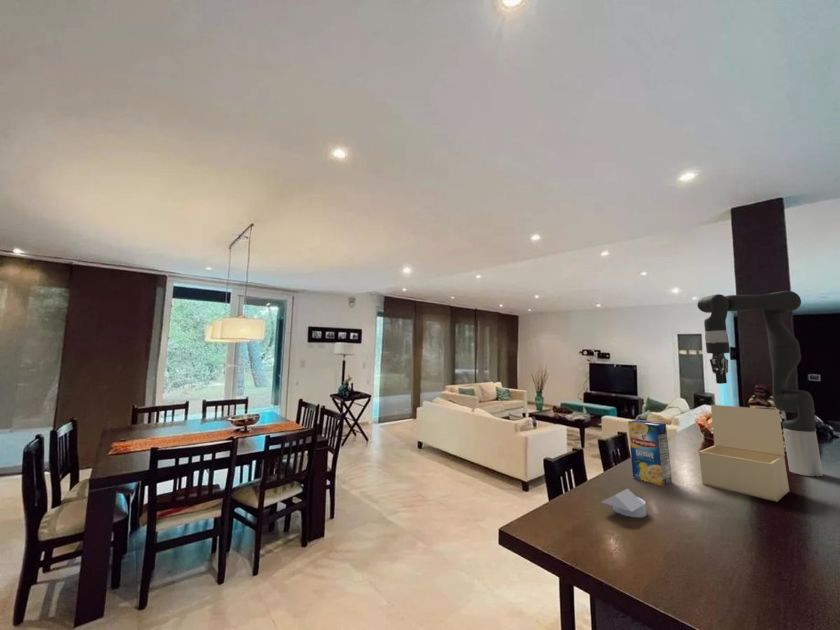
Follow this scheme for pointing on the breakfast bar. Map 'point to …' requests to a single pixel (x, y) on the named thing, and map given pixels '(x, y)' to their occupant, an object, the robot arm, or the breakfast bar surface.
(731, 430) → the lid flap
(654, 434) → the blue cardboard box
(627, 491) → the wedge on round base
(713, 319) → the robot arm
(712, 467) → the carton
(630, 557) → the breakfast bar surface
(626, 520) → the breakfast bar surface
